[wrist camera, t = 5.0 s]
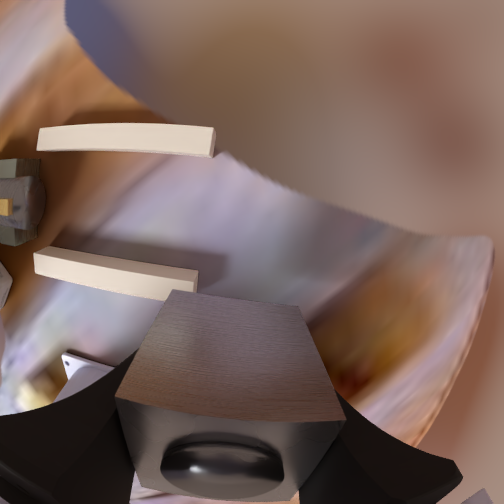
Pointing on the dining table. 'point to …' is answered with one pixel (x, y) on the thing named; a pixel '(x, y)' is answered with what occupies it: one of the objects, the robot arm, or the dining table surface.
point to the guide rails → (109, 268)
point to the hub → (227, 400)
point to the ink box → (4, 284)
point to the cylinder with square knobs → (20, 200)
